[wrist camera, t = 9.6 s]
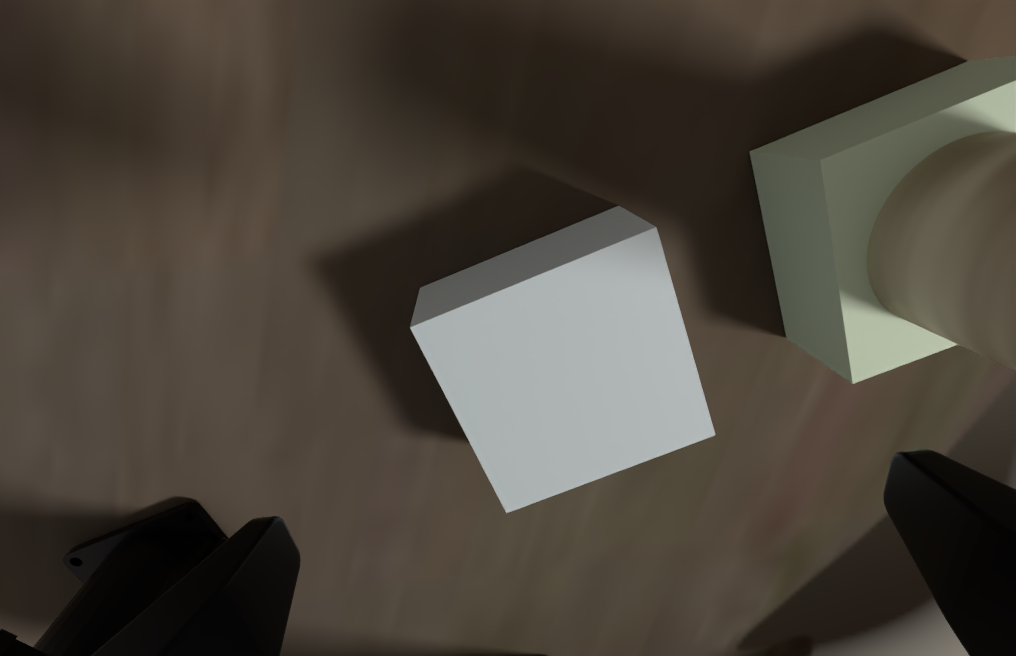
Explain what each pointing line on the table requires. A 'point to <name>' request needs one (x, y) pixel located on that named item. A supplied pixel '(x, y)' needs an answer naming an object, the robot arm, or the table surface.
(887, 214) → the birch cylinder
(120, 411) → the table surface
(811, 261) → the sage block
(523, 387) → the blue-grey block
